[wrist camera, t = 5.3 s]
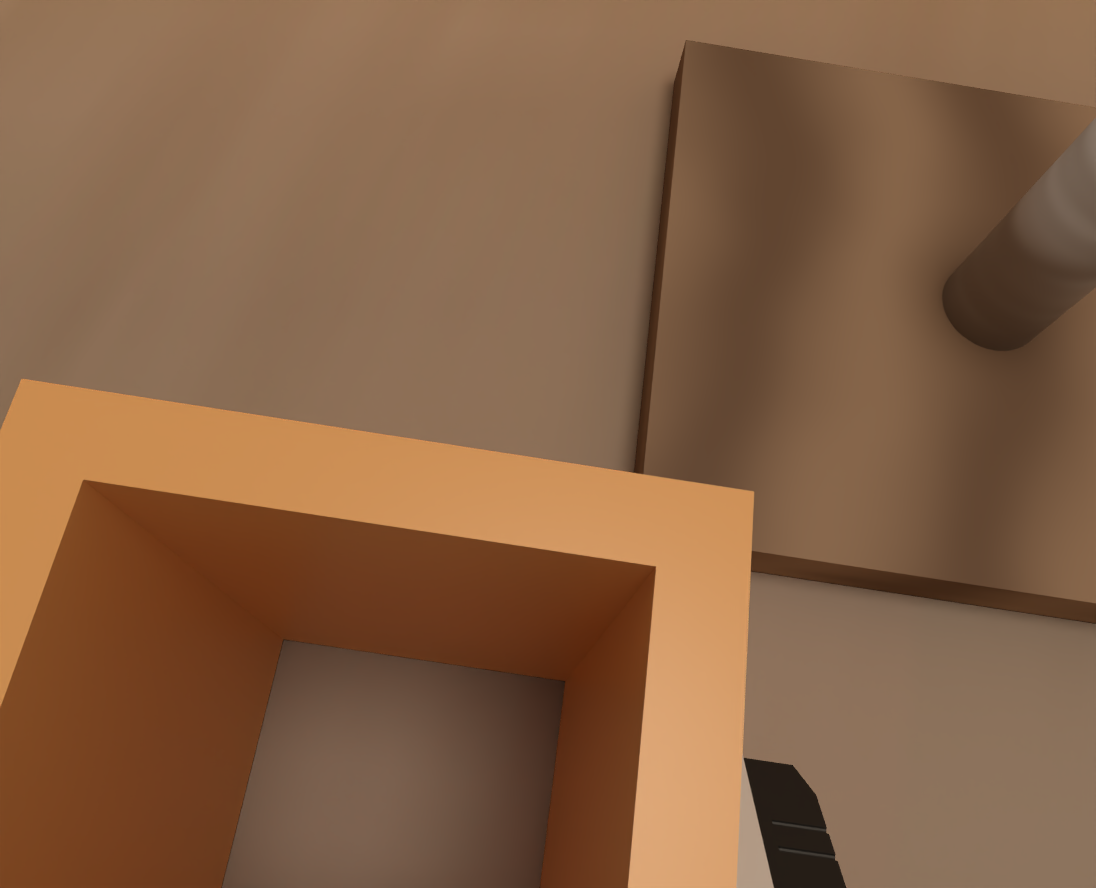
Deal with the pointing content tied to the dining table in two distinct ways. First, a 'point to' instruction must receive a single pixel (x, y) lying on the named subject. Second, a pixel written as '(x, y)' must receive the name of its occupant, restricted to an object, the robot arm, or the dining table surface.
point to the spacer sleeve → (347, 628)
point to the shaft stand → (881, 327)
